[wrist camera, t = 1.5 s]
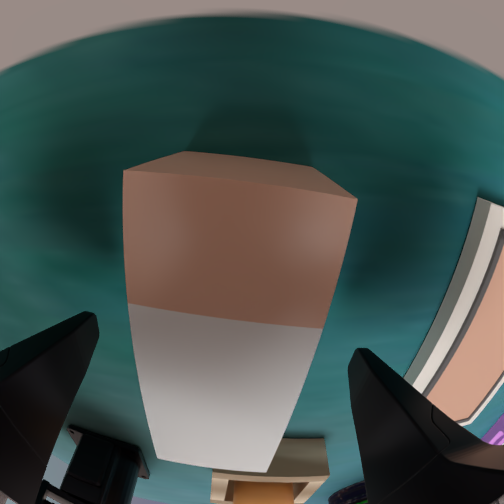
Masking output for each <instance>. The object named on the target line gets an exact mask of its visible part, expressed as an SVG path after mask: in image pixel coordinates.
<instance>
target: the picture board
mask: <svg viewBox="0 0 504 504" xmlns="http://www.w3.org/2000/svg"><path fill="white" fill-rule="evenodd" d="M403 379H405V380H406V381H407V382H408V383H409V384H410V385H412V386H413V387H414V388H415V389H416V390H418V391H419V392H420V393H421V394H422V395H423V396H425V397H426V398H427V399H428V400H429V401H430V402H432V404H434V405H435V406H436V407H437V408H439V409H440V410H441V411H442V412H443V413H445V414H446V415H447V416H448V417H450V418H451V419H452V420H454V421H455V422H456V423H458V424H459V425H461V426H464V425H467V424H471V423H472V422H473V421H474V419H475V418H476V417H477V416H478V415H479V413H480V412H481V411H482V410H483V409H484V407H485V406H486V405H487V404H488V402H489V401H490V400H491V399H492V397H493V396H494V395H495V393H496V392H497V391H498V389H499V388H500V386H501V385H502V384H503V382H504V207H503V206H500V205H497V204H495V203H492V202H490V201H487V200H485V199H482V198H479V197H478V198H477V202H476V206H475V210H474V214H473V217H472V221H471V225H470V228H469V231H468V235H467V238H466V241H465V244H464V247H463V250H462V253H461V256H460V259H459V262H458V264H457V267H456V270H455V273H454V275H453V278H452V280H451V283H450V285H449V288H448V290H447V293H446V295H445V297H444V300H443V302H442V304H441V307H440V309H439V311H438V313H437V315H436V318H435V320H434V322H433V324H432V326H431V328H430V330H429V332H428V334H427V336H426V338H425V340H424V342H423V344H422V346H421V348H420V350H419V352H418V353H417V355H416V357H415V359H414V361H413V362H412V364H411V366H410V368H409V370H408V371H407V373H406V375H405V376H404V378H403Z"/></svg>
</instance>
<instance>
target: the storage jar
mask: <svg viewBox="0 0 504 504" xmlns="http://www.w3.org/2000/svg"><path fill="white" fill-rule="evenodd" d="M328 501H329V504H368V501H367V494H366V487H365V481H361V482H359V483H356V484H353V485H351V486H348V487H346V488H344V489H341V490H339V491H338V492H336V493H334V494H333V495H332V496H330V498H329V500H328Z"/></svg>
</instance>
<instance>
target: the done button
mask: <svg viewBox="0 0 504 504" xmlns="http://www.w3.org/2000/svg"><path fill="white" fill-rule="evenodd" d="M233 504H294V495H293V482H289V483H282V482H251V481H237V480H234V495H233Z"/></svg>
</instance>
